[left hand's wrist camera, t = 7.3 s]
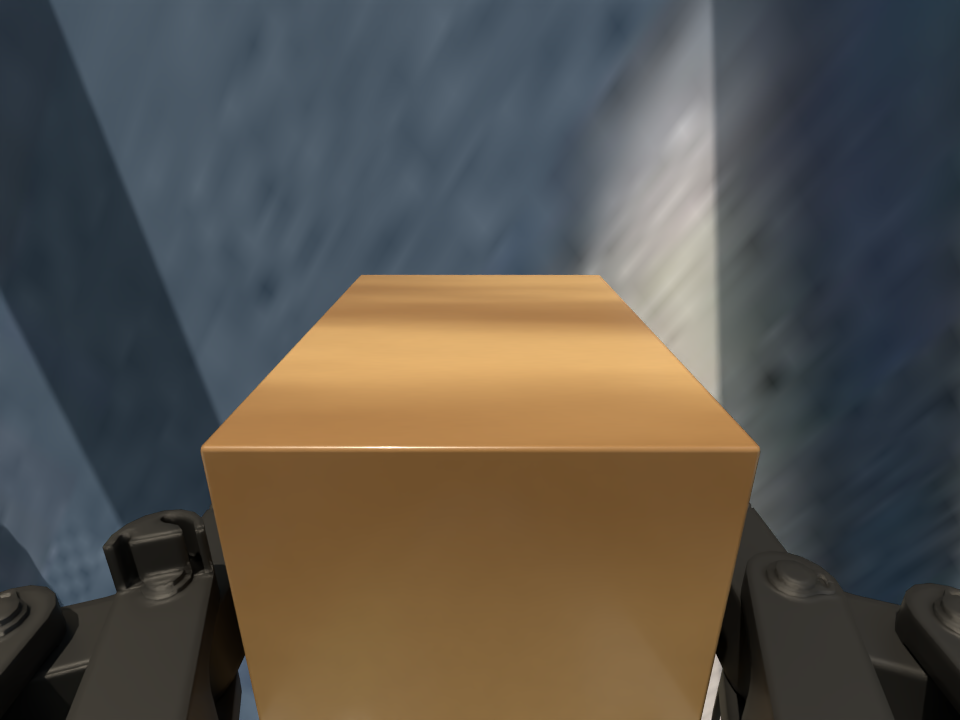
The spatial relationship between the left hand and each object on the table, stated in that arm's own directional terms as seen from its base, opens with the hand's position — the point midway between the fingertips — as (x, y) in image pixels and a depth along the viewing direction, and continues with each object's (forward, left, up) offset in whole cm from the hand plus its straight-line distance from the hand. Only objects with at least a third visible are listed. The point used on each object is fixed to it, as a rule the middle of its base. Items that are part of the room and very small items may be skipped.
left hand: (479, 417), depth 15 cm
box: (+6, +4, -1) cm, 7 cm away
